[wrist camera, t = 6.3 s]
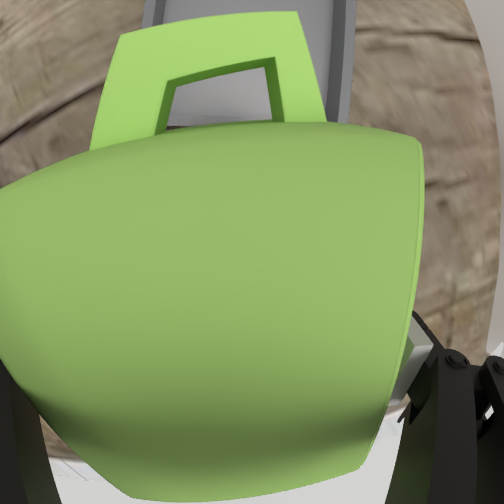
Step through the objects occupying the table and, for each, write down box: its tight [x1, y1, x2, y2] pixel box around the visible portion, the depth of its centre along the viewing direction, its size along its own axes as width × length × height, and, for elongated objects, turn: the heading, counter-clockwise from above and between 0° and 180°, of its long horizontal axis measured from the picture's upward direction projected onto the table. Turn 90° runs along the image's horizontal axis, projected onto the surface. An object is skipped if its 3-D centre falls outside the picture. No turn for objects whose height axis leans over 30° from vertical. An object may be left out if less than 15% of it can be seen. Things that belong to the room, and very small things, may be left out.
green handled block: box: [0, 11, 424, 502], centre depth 10 cm, size 18×10×10 cm, turn 7°
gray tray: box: [141, 0, 356, 126], centre depth 23 cm, size 19×24×5 cm
